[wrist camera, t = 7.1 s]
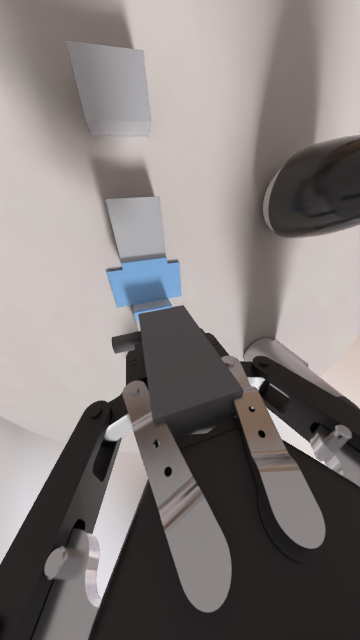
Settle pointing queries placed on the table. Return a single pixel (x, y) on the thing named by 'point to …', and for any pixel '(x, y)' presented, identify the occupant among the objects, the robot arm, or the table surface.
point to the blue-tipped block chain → (126, 213)
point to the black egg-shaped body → (316, 190)
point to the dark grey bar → (182, 372)
